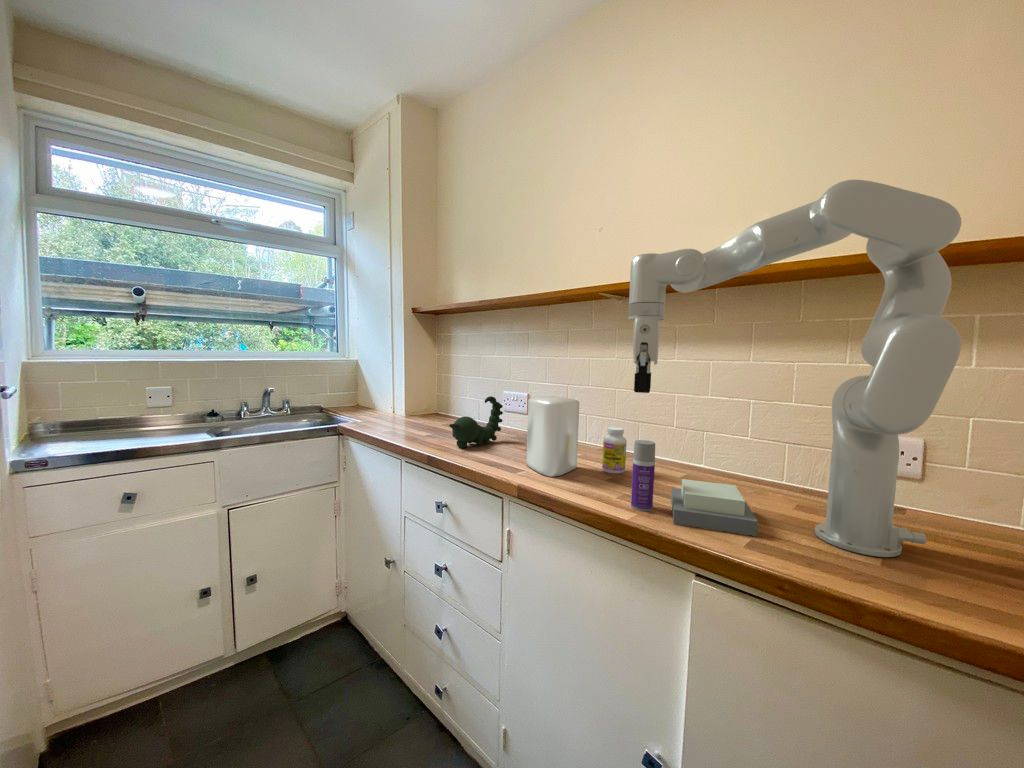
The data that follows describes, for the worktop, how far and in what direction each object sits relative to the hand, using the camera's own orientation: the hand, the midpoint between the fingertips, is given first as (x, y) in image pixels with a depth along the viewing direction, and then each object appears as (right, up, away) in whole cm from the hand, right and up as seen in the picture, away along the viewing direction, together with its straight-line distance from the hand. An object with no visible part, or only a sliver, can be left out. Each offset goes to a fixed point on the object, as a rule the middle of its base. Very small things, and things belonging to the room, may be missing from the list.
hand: (642, 390), depth 91 cm
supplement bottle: (+1, -25, +31) cm, 40 cm away
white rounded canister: (-17, -24, +29) cm, 42 cm away
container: (0, -27, +2) cm, 27 cm away
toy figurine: (-42, -21, +60) cm, 77 cm away
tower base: (+14, -27, -2) cm, 30 cm away
